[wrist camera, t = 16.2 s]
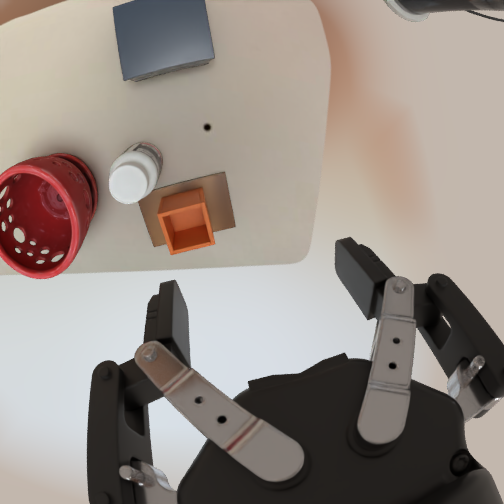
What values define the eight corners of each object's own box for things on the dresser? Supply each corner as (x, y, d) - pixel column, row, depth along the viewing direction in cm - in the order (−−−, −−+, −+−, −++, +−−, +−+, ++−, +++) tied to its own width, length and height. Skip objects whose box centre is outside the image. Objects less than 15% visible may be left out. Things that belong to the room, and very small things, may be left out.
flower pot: (104, 237, 36) (81, 289, 26) (30, 226, 31) (-7, 271, 21) (113, 147, 30) (80, 172, 20) (31, 140, 26) (-20, 164, 16)
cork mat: (224, 171, 35) (225, 172, 34) (235, 225, 39) (235, 226, 39) (136, 194, 34) (136, 196, 33) (154, 245, 38) (154, 247, 38)
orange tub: (202, 186, 35) (204, 202, 30) (211, 224, 38) (215, 244, 33) (161, 197, 34) (157, 214, 30) (172, 234, 37) (170, 255, 33)
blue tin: (199, 2, 22) (202, -15, 17) (210, 65, 27) (214, 57, 22) (124, 20, 21) (112, 7, 16) (134, 83, 26) (123, 80, 21)
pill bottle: (130, 187, 33) (113, 218, 25) (117, 150, 30) (93, 169, 22) (168, 174, 33) (161, 200, 25) (156, 135, 30) (144, 149, 22)
